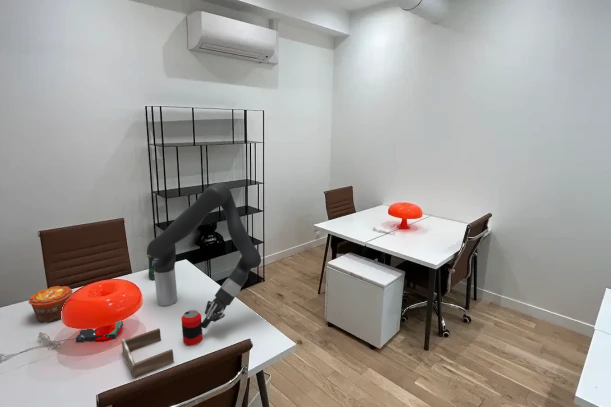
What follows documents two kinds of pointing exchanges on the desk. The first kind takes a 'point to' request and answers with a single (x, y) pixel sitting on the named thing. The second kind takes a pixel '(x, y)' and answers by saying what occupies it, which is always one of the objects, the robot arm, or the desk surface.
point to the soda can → (192, 327)
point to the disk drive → (90, 335)
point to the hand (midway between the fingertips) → (202, 327)
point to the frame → (149, 363)
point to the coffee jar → (151, 266)
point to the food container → (50, 303)
